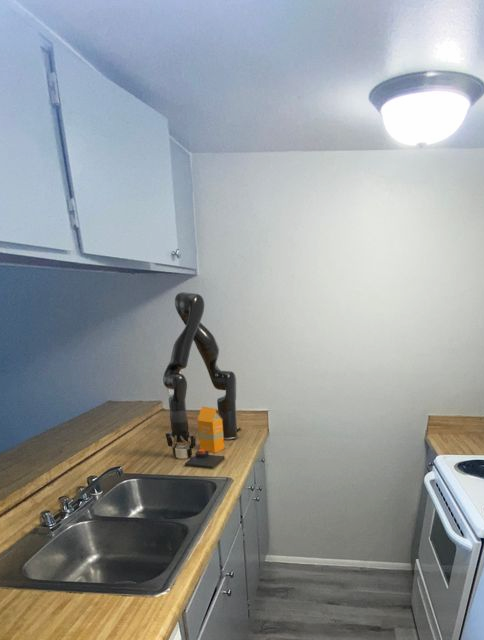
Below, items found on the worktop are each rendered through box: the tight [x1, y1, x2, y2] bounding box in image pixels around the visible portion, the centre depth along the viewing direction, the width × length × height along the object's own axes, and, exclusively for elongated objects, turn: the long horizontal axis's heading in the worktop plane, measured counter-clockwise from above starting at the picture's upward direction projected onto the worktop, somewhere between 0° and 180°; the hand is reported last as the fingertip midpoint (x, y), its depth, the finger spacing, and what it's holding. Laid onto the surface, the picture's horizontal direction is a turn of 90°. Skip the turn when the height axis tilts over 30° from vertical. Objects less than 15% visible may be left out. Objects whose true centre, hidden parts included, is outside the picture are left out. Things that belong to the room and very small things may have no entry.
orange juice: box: [197, 406, 225, 453], centre depth 224 cm, size 8×9×20 cm
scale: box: [184, 450, 226, 470], centre depth 211 cm, size 14×13×3 cm
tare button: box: [197, 448, 205, 454], centre depth 214 cm, size 3×3×2 cm
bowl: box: [175, 445, 189, 460], centre depth 216 cm, size 6×6×4 cm
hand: (182, 455), depth 217 cm, fingers closed on bowl, 6 cm apart
